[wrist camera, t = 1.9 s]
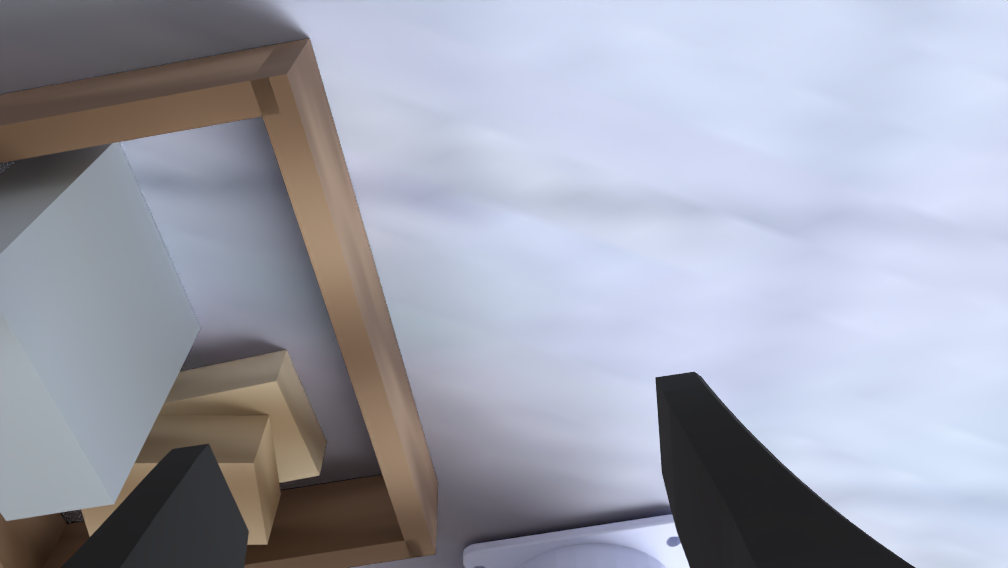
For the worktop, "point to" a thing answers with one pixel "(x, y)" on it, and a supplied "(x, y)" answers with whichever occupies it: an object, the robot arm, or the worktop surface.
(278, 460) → the offcut long
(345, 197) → the frame
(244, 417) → the offcut short
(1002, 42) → the worktop surface
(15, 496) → the pale grey rectangular prism
